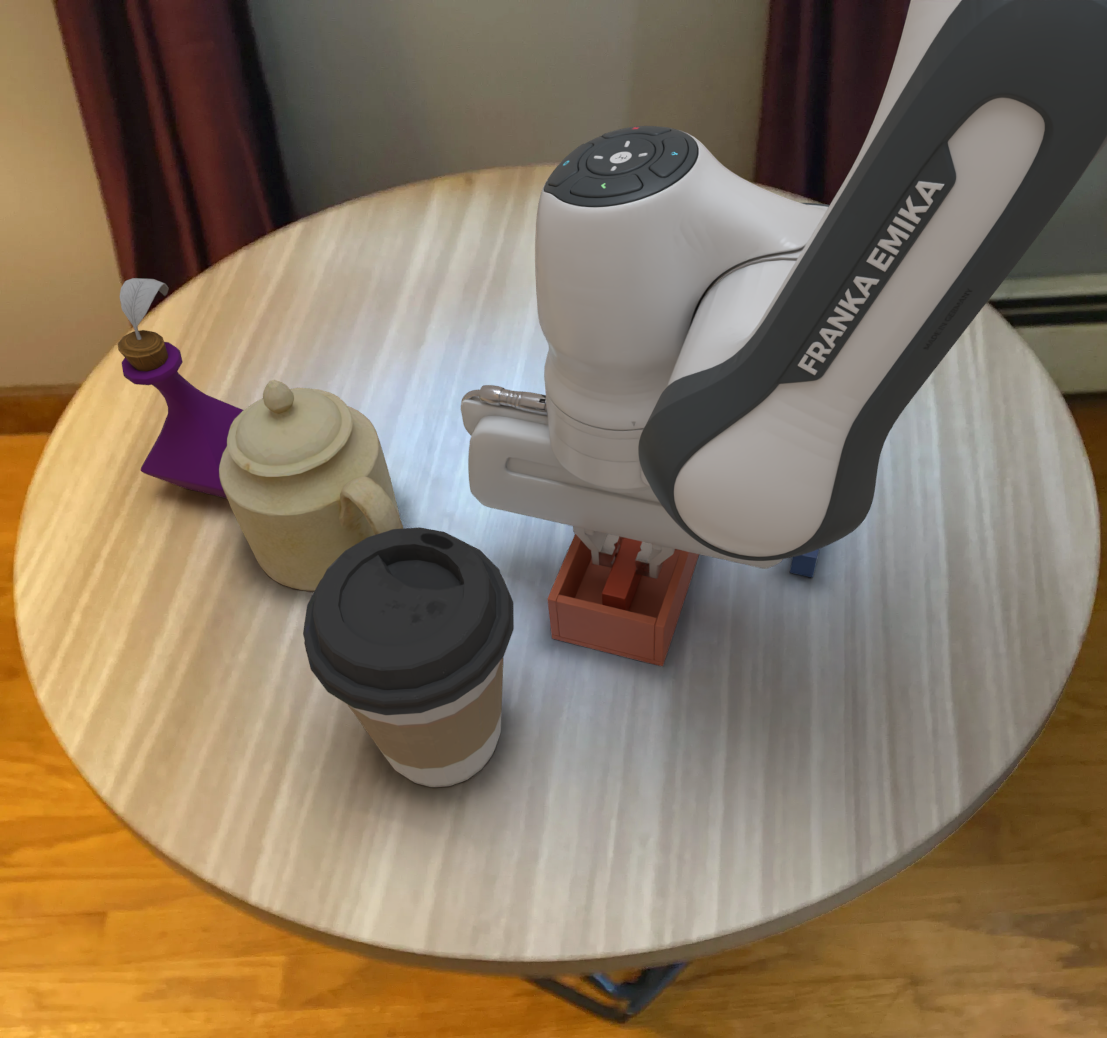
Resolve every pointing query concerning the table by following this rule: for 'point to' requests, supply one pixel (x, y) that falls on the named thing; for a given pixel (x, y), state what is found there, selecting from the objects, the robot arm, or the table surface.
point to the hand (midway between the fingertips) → (628, 564)
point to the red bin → (615, 629)
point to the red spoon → (622, 577)
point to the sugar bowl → (305, 481)
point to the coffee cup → (415, 649)
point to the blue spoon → (804, 564)
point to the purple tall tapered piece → (174, 401)
